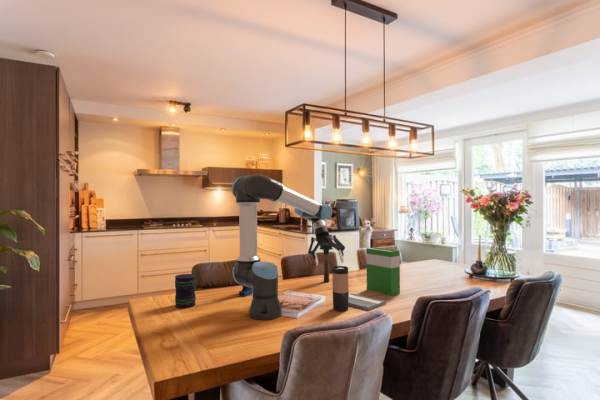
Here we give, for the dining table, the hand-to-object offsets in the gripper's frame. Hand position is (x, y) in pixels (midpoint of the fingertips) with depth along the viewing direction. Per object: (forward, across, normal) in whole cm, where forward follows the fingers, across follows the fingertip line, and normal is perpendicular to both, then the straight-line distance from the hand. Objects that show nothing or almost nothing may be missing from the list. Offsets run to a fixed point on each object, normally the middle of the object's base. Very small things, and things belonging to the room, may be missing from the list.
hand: (330, 262), depth 182 cm
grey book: (+20, -12, -8) cm, 25 cm away
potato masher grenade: (-12, -8, -45) cm, 47 cm away
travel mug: (+24, 0, -3) cm, 25 cm away
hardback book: (+9, -33, -23) cm, 41 cm away
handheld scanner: (-3, +42, -30) cm, 52 cm away
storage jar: (+5, +74, -17) cm, 76 cm away
